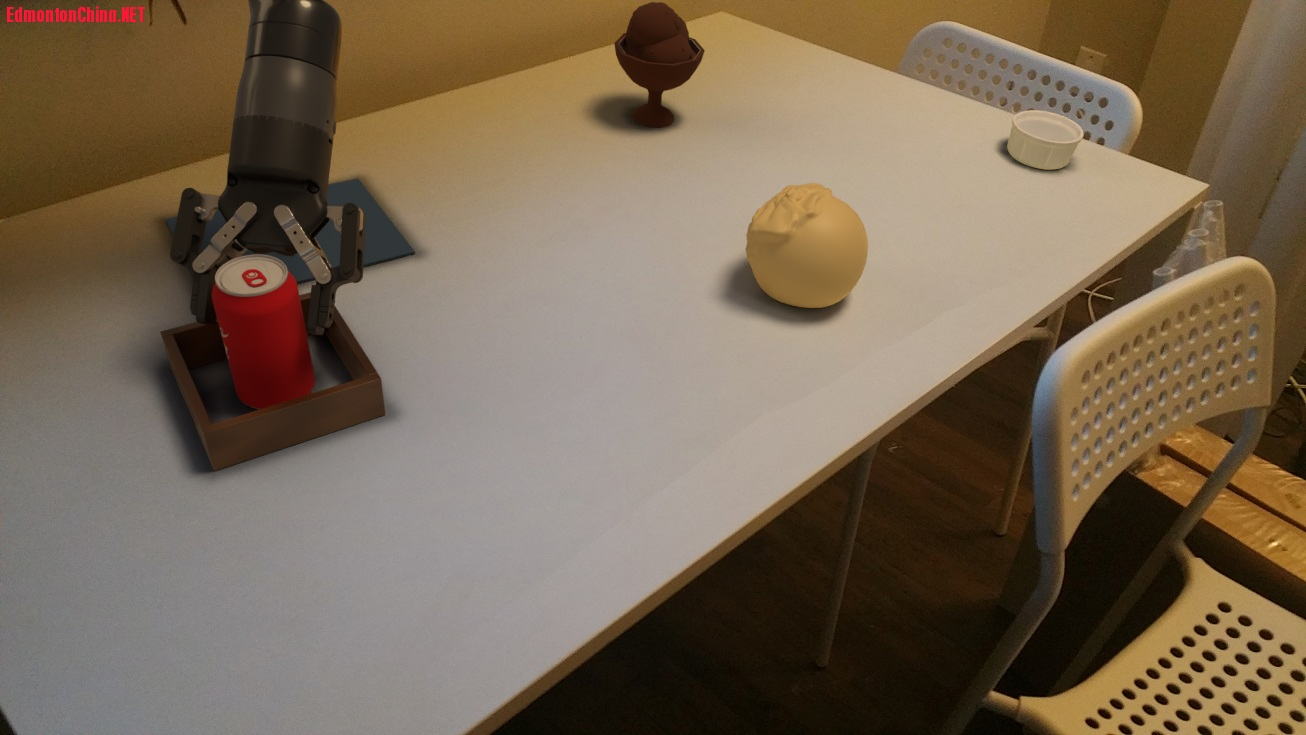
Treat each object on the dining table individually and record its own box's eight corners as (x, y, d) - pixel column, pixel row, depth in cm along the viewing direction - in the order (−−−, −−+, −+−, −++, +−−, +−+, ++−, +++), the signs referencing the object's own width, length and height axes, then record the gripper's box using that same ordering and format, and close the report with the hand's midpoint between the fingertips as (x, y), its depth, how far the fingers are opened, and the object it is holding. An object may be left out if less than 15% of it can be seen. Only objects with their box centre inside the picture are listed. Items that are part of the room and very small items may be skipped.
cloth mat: (207, 306, 90) (207, 304, 90) (165, 221, 100) (165, 218, 99) (415, 254, 99) (415, 251, 99) (358, 180, 109) (358, 178, 109)
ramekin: (1062, 180, 124) (1075, 149, 121) (994, 157, 127) (1004, 126, 124) (1078, 154, 130) (1091, 124, 127) (1013, 133, 133) (1023, 103, 130)
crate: (214, 471, 75) (203, 433, 72) (170, 368, 83) (159, 331, 81) (385, 414, 81) (381, 378, 79) (329, 323, 90) (324, 288, 87)
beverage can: (296, 357, 86) (274, 241, 78) (329, 397, 82) (309, 280, 74) (225, 384, 82) (194, 265, 75) (255, 427, 79) (226, 307, 71)
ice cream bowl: (697, 140, 123) (712, 22, 114) (608, 133, 123) (616, 13, 113) (694, 102, 131) (708, -11, 122) (611, 96, 131) (618, -19, 121)
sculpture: (765, 243, 106) (782, 153, 99) (870, 280, 103) (896, 190, 96) (720, 294, 98) (735, 200, 91) (832, 337, 95) (857, 243, 88)
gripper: (173, 103, 75) (146, 314, 73) (362, 120, 75) (338, 331, 74) (213, 134, 82) (189, 327, 81) (385, 150, 82) (364, 342, 81)
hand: (260, 328), depth 77 cm, fingers open, 8 cm apart
